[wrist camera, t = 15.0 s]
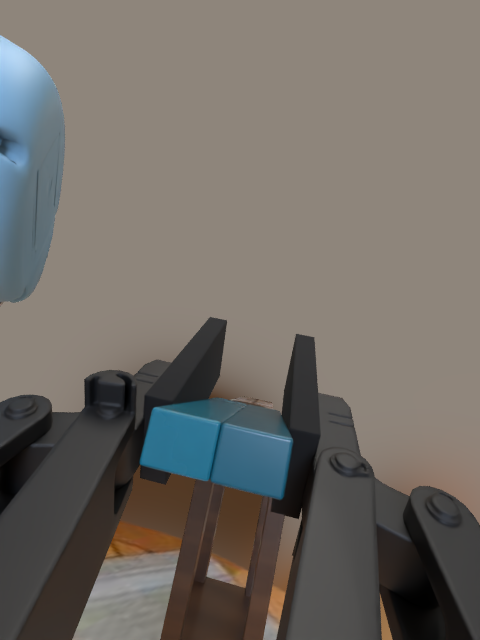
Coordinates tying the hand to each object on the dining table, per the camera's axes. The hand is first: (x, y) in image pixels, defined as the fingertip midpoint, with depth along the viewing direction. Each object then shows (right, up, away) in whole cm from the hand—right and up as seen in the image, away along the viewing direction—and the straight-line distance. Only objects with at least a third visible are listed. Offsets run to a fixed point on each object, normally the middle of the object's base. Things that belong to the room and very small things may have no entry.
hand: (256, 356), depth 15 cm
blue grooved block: (0, -4, +4) cm, 5 cm away
